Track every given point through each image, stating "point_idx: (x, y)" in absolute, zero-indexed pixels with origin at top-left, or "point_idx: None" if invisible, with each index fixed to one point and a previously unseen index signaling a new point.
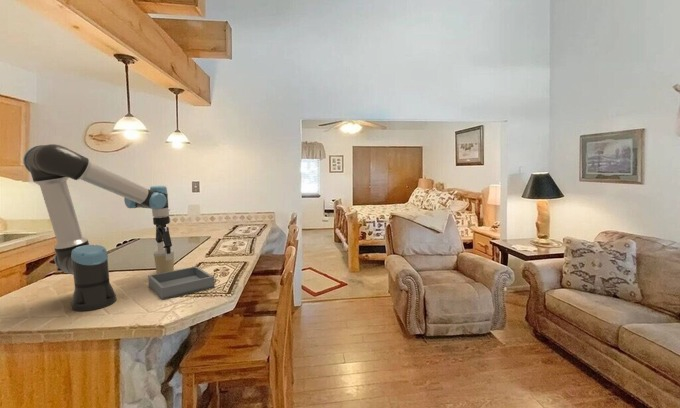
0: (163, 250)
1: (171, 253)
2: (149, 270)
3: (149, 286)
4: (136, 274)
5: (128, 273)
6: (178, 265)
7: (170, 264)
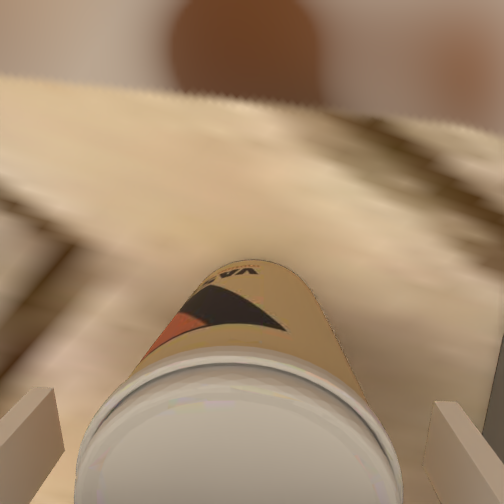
0: (122, 495)
1: (382, 427)
2: (45, 378)
3: None
4: None
5: (40, 492)
6: (20, 141)
7: (339, 345)
